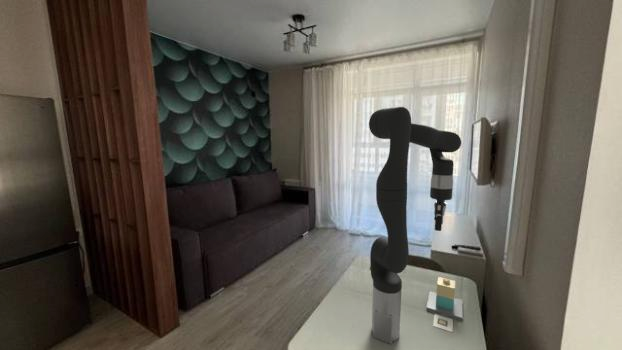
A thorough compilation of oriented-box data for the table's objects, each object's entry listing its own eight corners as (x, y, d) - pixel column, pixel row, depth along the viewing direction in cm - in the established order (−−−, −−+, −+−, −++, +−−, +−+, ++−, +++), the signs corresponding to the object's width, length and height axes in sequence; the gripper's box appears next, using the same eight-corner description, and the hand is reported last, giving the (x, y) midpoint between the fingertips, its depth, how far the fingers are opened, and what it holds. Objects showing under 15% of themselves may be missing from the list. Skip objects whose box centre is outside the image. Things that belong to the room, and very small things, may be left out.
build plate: (462, 320, 92) (462, 315, 92) (426, 310, 98) (426, 304, 98) (462, 302, 102) (462, 297, 102) (429, 293, 108) (429, 288, 108)
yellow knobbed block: (454, 299, 95) (455, 286, 94) (436, 294, 98) (437, 281, 97) (454, 291, 100) (455, 278, 99) (437, 287, 103) (438, 274, 102)
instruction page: (452, 332, 87) (452, 331, 87) (433, 326, 90) (433, 325, 90) (452, 319, 93) (452, 319, 93) (434, 314, 96) (434, 313, 96)
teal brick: (453, 310, 96) (454, 297, 95) (435, 305, 99) (436, 292, 98) (453, 301, 101) (454, 288, 100) (436, 297, 104) (437, 284, 103)
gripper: (452, 190, 88) (449, 234, 90) (453, 184, 100) (450, 223, 103) (428, 188, 92) (426, 231, 94) (432, 182, 104) (430, 220, 106)
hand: (438, 227), depth 98 cm, fingers open, 8 cm apart
